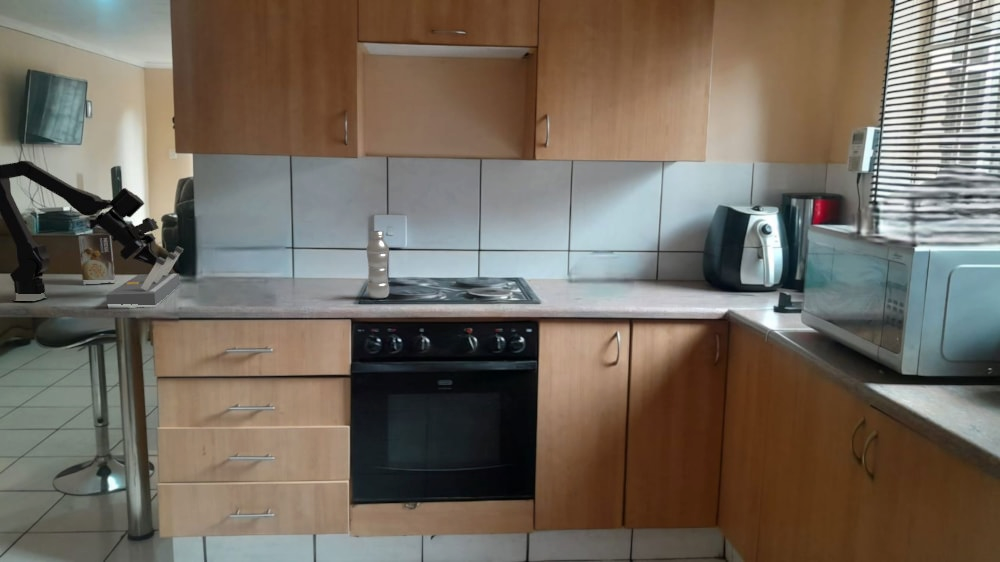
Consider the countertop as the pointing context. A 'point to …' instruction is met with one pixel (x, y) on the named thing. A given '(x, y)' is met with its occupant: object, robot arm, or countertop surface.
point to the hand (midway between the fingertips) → (161, 266)
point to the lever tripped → (165, 266)
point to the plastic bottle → (377, 266)
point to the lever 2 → (177, 251)
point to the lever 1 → (153, 273)
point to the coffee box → (96, 256)
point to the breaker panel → (143, 291)
